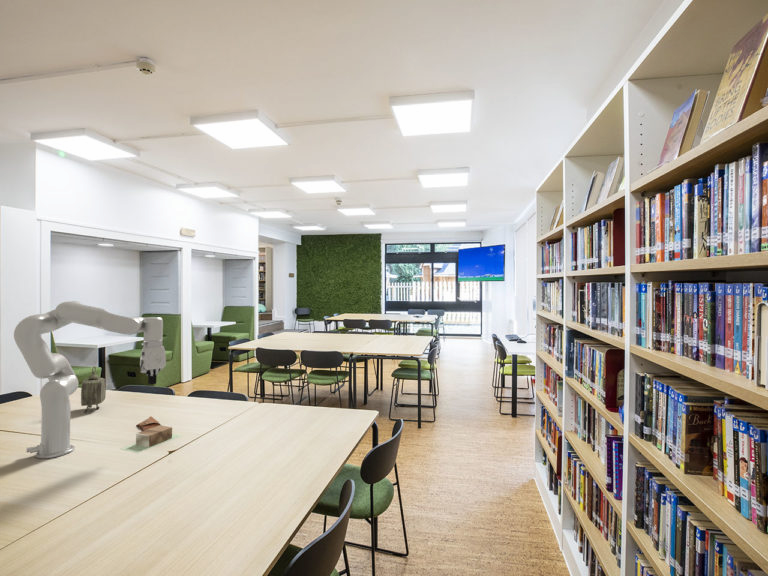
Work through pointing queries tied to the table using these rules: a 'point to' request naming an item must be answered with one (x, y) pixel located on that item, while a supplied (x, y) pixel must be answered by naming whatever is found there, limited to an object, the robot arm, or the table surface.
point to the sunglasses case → (148, 424)
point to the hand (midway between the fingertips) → (152, 383)
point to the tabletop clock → (93, 391)
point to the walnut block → (153, 436)
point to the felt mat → (141, 448)
